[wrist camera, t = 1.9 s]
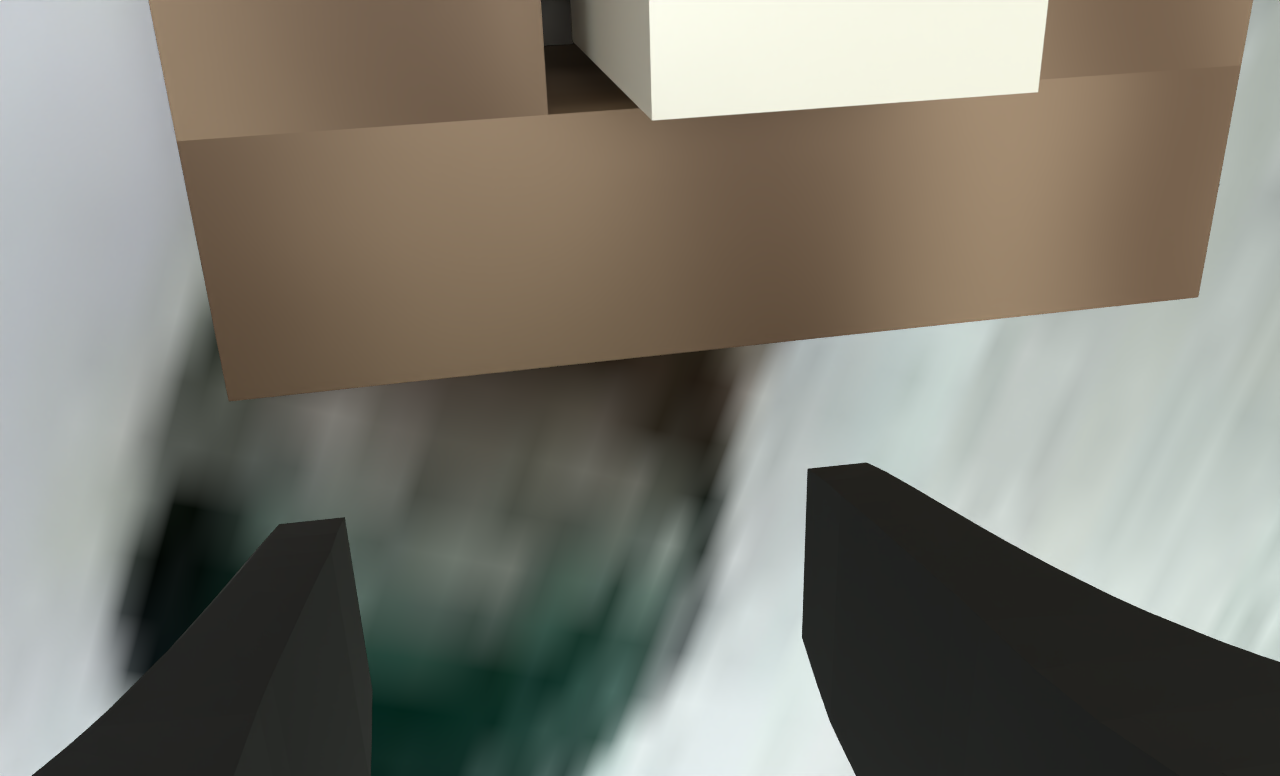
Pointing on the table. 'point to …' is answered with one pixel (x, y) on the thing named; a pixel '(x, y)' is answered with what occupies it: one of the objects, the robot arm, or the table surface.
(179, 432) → the table surface
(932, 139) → the walnut block
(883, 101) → the cream peg
